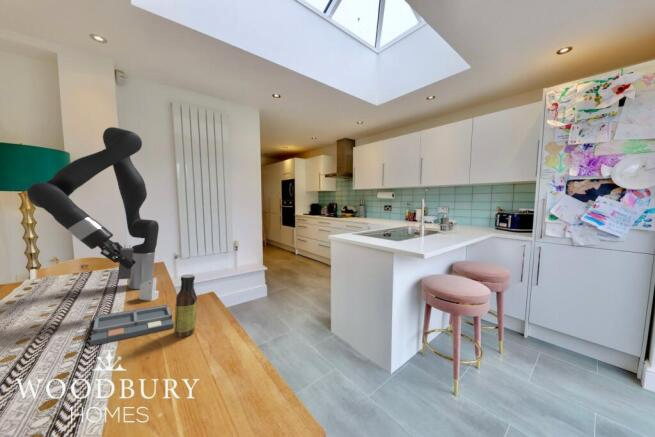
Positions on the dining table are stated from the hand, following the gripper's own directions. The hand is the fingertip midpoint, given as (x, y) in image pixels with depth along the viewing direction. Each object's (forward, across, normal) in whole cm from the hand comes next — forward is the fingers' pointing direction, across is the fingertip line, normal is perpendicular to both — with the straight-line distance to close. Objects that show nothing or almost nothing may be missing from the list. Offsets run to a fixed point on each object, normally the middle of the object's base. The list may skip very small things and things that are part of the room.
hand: (132, 265), depth 88 cm
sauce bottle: (+26, -22, 0) cm, 34 cm away
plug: (+2, 0, +5) cm, 5 cm away
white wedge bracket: (+17, +13, +9) cm, 23 cm away
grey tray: (+15, -11, +10) cm, 22 cm away
